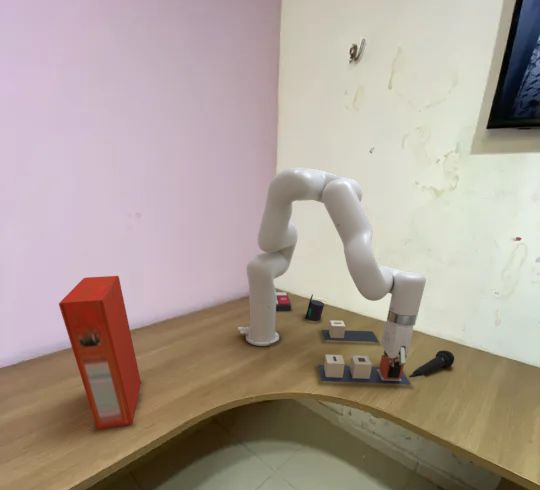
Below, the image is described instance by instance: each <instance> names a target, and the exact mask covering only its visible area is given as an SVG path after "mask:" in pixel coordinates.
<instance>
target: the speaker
mask: <svg viewBox="0 0 540 490" xmlns="http://www.w3.org/2000/svg"><path fill="white" fill-rule="evenodd" d="M313 297H314V294H311V296H310V298H309V303H308V306H307V309H306V314H305V317H304V319H307V320H308V321H311V322H319V321H320V320H321V318H322V314H323V311H324V306H325V303H324V302H322V301H321V300H318V299H313Z"/></svg>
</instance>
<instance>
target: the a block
mask: <svg viewBox="0 0 540 490" xmlns="http://www.w3.org/2000/svg"><path fill="white" fill-rule="evenodd" d="M328 324H329V325H328V330H329V335H330V338H344V333H345V330H346V324H345V322H344V320H331V319H330V320H329V323H328Z"/></svg>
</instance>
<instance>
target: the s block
mask: <svg viewBox="0 0 540 490" xmlns="http://www.w3.org/2000/svg"><path fill="white" fill-rule="evenodd" d="M396 361H399V359H395V362H396ZM391 362H392V358H390V357H389V356H388V355H384V354H382V355H381V358H380V362H379V366H378V367H379V370H380V372H381V374H382V375H383V377H384V378H389V377H388V376H387V375H388V371H389V366H390V365H391ZM404 367H405V365H403V366H402V367H401V370H400V375H399V377H398V378H395V379H401V375H402V371H403V372H404Z"/></svg>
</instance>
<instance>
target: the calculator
mask: <svg viewBox="0 0 540 490" xmlns="http://www.w3.org/2000/svg"><path fill="white" fill-rule="evenodd" d="M291 310H292V304H291V301H290V298H289V294H288V292H285V291H283V292H282V291H279V292H278V291H276V312H290V311H291Z"/></svg>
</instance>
